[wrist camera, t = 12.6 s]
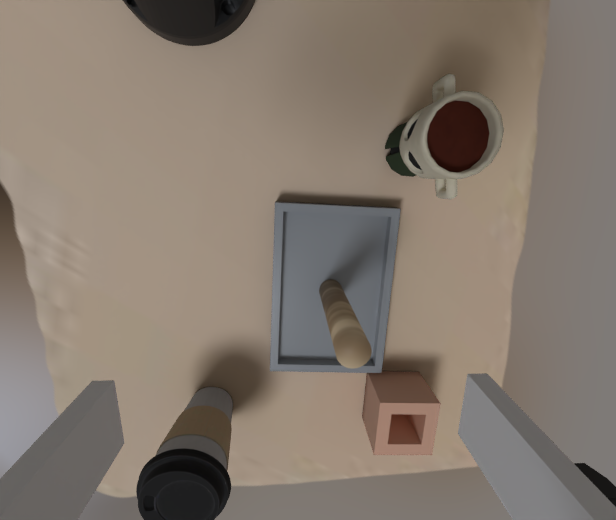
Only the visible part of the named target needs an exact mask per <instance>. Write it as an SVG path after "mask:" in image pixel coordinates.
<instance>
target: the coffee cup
mask: <svg viewBox="0 0 616 520" xmlns="http://www.w3.org/2000/svg"><path fill="white" fill-rule="evenodd" d="M232 408H233V403H232V399H231V396H230V395H229V394H228V392H226V391H225V390H223V389H221V388H217V387H206V388H203V389H200V390H199V391H197V392H196V393H195V395H194V396H193V398H192V399H191V401H190V402H189V404H188V405H187V407H186V408H185V410H184V411H183V412H182V413H181V415H180V416H179V417H178V419H177V420H176V422H175V424H174V425H173V427H172V428H171V430H170V431H169V433H168V434H167V436H166V438H165V439H164V441H163V442H162V444H161V445H160V447H159V449H158V451H157V454H156V456H155V457H153V458H152V459H151V460H150V461H149V462H148V463H147V464H146V465H145V466H144V468H143V469H142V471H141V473H140V476H139V480H138V484H137V498H138V508H139V511H140V514H141V516H142V517H143V519H144V520H214V519H215V518H216V517H217V516H218V515H219V514H220V513H221V512H222V510H223V509H224V507H225V505H226V503H227V500H228V498H229V495H230V490H231V481H230V477H229V475H228V472H227V469H228V459H229V450H230V440H231V418H232Z"/></svg>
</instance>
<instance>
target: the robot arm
mask: <svg viewBox="0 0 616 520" xmlns="http://www.w3.org/2000/svg"><path fill="white" fill-rule="evenodd" d="M123 1H124V3H125V4H126V5H127V7H128V8H129V9H130V10H131V11H132V12H133V13H134V14H135V16H136V17H137V18H138V19H139V20H140V21H141V22H142V23H143V24H144V25H145V26H146V27H148V28H149V29H150V30H151V31H153V32H154V33H156V34H157V35H159V36H161V37H162V38H164V39H167V40H169V41H172V42H174V43H178V44H182V45H190V46H199V45H206V44H211V43H214V42H217V41H219V40H221V39H223V38H225V37H227V36H228V35H230V34H231V33H232V32H233V31H235V30H236V29H237V28H238V27H239V26H240V25H241V24H242V22H243V21H244V20H245V18H246V17H247V15H248V14H249V12H250V10H251V8H252V6H253V3H254V1H255V0H123ZM458 434H459V436H460V438H461V439H462V441H463V442H464V444H465V445H466V447H467V449H468V450H469V452H470V453H471V455H472V456H473V458H474V460H475V461H476V463H477V464H478V466H479V467H480V469H481V471H482V472H483V474H484V475H485V477H486V478H487V480H488V482H489V483H490V485H491V486H492V488H493V489H494V491H495V493H496V494H497V496H498V497H499V499H500V500H501V502H502V504H503V505H504V507H505V508H506V510H507V511H508V513H509V514H510V516H511V518H512V519H513V520H616V487H615V486H614V485H613V484H612V483H611V482H610V481H609V480H608V479H607V478H606V477H604V476H603V475H601V474H600V473H598V472H597V471H595V470H594V469H592V468H590V467H589V466H588V465H586V464H585V463H577V464H576V463H575V464H574V463H573V462H572V461H571V460H570V459H569V458H568V457H567V456H566V455H565V454H564V453H563V452H562V451H561V450H560V449H559V448H558V447H557V446H556V445H555V444H554V442H553V441H552V440H550V438H549V437H548V436H547V435H546V434H545V433H544V432H543V431H542V430H541V429H540V428H539V427H538V426H537V425H536V424H535V423H534V422H533V421H532V420H531V419H530V418H529V417H528V416H527V414H526V413H525V412H523V410H522V409H521V408H520V407H519V406H518V405H517V404H516V403H515V402H514V401H513V400H512V399H511V398H510V397H509V396H508V395H507V394H506V393H505V392H504V391H503V390H502V389H501V388H500V387H499V385H498V384H497V383H496V382H495V381H494V380H493V379H492V378H491V377H490V376H489V375H488V374H468V375H467V381H466V387H465V393H464V399H463V405H462V412H461V418H460V424H459V430H458ZM123 444H124V438H123V432H122V425H121V419H120V413H119V407H118V401H117V394H116V388H115V382H114V380H112V381H92V382H91V383H90V384H89V385H88V386H87V387H86V388H85V389H84V390H83V391H82V392H81V393H80V395H79V396H78V397H77V398H76V399H75V400H74V401H73V402H72V403H71V404H70V405H69V406H68V407H67V408H66V409H65V411H64V412H63V413H62V414H61V415H60V416H59V417H58V418H57V419H56V420H55V421H54V422H53V423H52V424H51V425H50V427H49V428H48V429H47V430H46V431H45V432H44V433H43V434H42V435H41V436H40V437H39V438H38V439H37V440H36V442H34V444H33V445H32V446H31V447H30V448H29V449H28V450H27V451H26V452H25V453H24V454H23V455H22V456H21V457H20V458H19V460H18V461H17V462H16V463H15V464H14V465H13V466H12V467H11V468H10V469H9V470H8V471H7V472H6V473H5V474H4V475H3V477H2V478H1V479H0V520H78V518H79V517H80V515H81V513H82V512H83V510H84V508H85V507H86V505H87V503H88V502H89V500H90V499H91V497H92V495H93V494H94V492H95V490H96V489H97V487H98V485H99V484H100V482H101V480H102V479H103V477H104V476H105V474H106V472H107V471H108V469H109V467H110V466H111V464H112V462H113V461H114V459H115V457H116V456H117V454H118V453H119V451H120V449H121V448H122V446H123Z"/></svg>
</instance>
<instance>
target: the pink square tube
mask: <svg viewBox="0 0 616 520" xmlns="http://www.w3.org/2000/svg"><path fill="white" fill-rule="evenodd" d="M440 404H441V403H440V402H439V401H438V399H437V398H436V396H435V395H434V393H433V392H432V390H431V389H430V387H429V386H428V384H427V383H426V381H425V380H424V378H423V377H422V376H421V374H420V373H419V372H402V371H382V373H367V376H366V386H365V395H364V405H363V414H362V418H363V421H364V424H365V427H366V431H367V434H368V437H369V440H370V444H371V447H372V450H373V453H374V455H432V452H433V446H434V440H435V434H436V428H437V422H438V416H439V410H440Z"/></svg>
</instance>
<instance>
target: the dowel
mask: <svg viewBox="0 0 616 520" xmlns="http://www.w3.org/2000/svg"><path fill="white" fill-rule="evenodd" d="M319 294H320V297H321V301H322V305H323V309H324V312H325V316H326V320H327V324H328V327H329V331H330V335H331V339H332V342H333V346H334V350H335V354H336V357H337V360H338V362H339V363H340V364H341V365H342V366H344V367H346V368H351V369H354V368H359V367H361V366H363V365H365V364H366V363H367V362H368V361H369V359H370V357H371V353H372V349H371V345H370V343H369V341H368V339H367V337H366V335H365V333H364V331H363V329H362V327H361V325H360V323H359V321H358V319H357V317H356V315H355V313H354V311H353V309H352V307H351V305H350V303H349V301H348V299H347V297H346V295H345V293H344V291H343V289H342V287H341V285H340V283H339V282H338V281H336V280H332V279H330V280H326V281H324V282H323V283H322V284H321V286H320V288H319Z"/></svg>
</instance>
